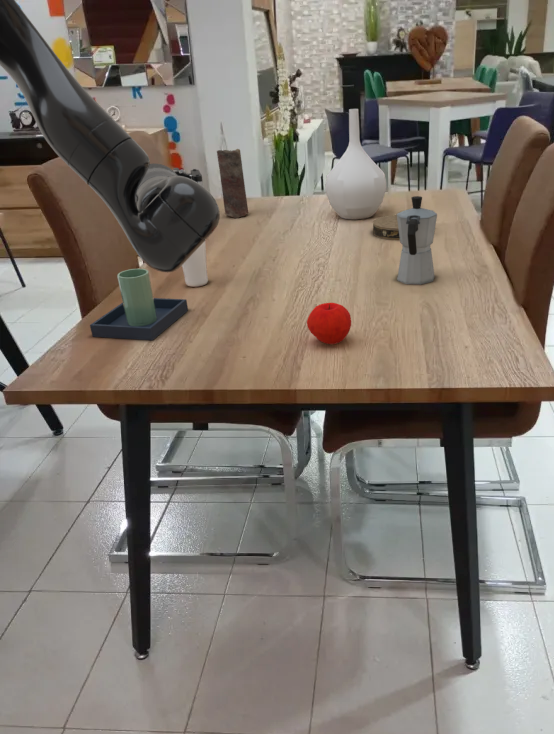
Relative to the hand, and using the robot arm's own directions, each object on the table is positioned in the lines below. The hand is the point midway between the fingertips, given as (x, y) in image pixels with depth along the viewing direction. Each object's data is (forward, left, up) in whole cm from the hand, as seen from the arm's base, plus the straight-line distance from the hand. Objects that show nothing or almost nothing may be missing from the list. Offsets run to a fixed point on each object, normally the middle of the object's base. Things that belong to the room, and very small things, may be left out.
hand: (148, 178), depth 105 cm
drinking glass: (+44, +17, -32) cm, 57 cm away
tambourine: (+93, -23, -32) cm, 101 cm away
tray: (+19, +18, -32) cm, 42 cm away
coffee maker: (+52, -33, -32) cm, 70 cm away
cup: (+19, +18, -32) cm, 41 cm away
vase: (+111, -6, -32) cm, 116 cm away
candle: (+110, +33, -32) cm, 120 cm away
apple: (+15, -23, -32) cm, 42 cm away
